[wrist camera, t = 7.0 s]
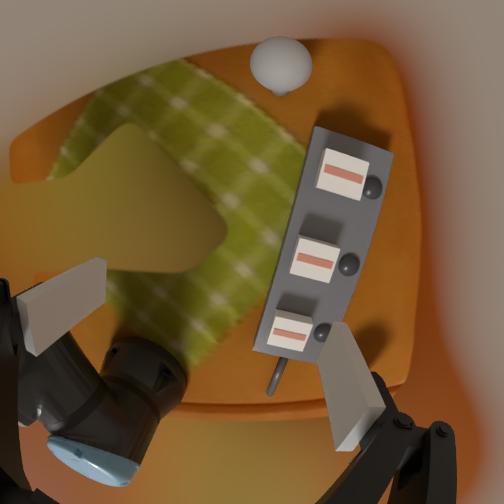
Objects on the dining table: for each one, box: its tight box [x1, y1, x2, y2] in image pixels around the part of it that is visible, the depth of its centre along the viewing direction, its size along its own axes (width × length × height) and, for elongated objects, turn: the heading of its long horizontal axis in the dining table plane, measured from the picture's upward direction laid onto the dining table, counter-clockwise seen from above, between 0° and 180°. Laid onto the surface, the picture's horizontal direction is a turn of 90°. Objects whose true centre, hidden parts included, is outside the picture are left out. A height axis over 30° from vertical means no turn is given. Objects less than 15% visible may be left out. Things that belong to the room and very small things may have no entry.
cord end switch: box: [267, 309, 313, 352], centre depth 32 cm, size 5×4×2 cm
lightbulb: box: [250, 37, 312, 96], centre depth 24 cm, size 6×6×11 cm
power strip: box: [253, 126, 394, 396], centre depth 34 cm, size 10×39×3 cm, turn 166°
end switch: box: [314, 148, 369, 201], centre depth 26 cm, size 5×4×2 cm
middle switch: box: [289, 235, 340, 283], centre depth 30 cm, size 5×4×2 cm
